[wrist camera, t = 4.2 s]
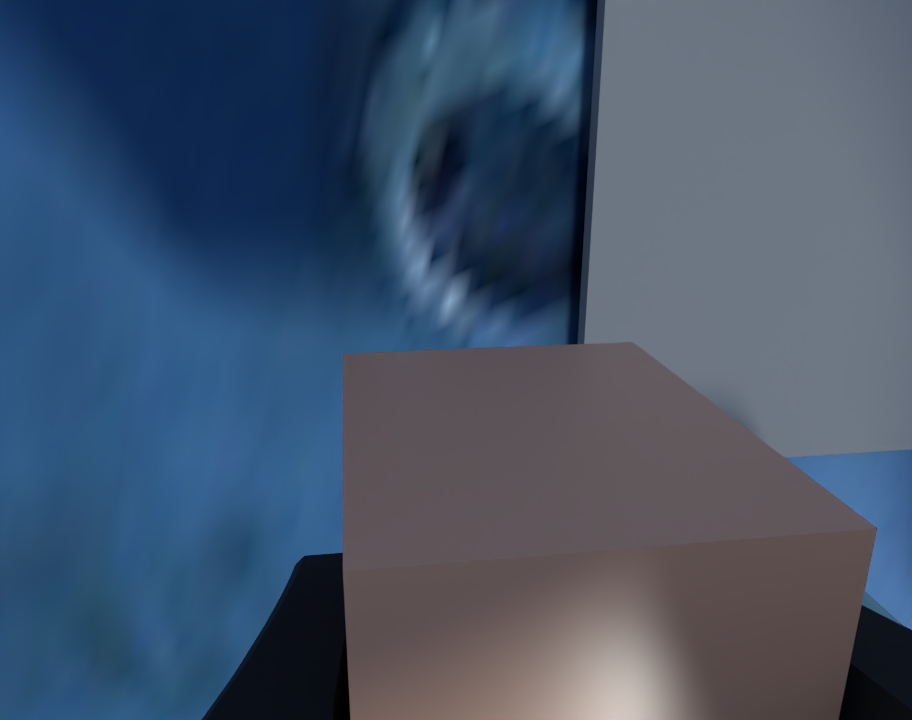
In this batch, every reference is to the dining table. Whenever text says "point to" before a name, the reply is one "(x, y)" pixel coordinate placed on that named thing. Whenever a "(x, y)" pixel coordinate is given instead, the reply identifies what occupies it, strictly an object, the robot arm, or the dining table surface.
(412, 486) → the terracotta brick
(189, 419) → the dining table surface
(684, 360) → the build mat
